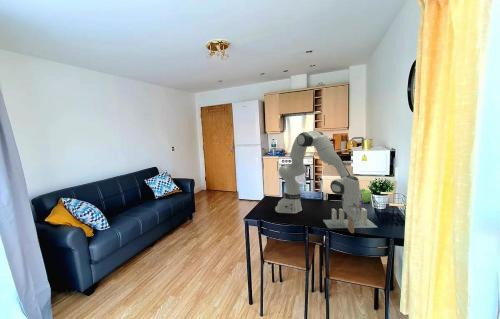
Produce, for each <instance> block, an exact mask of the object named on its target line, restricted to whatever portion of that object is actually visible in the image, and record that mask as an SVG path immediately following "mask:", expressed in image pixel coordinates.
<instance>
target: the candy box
mask: <svg viewBox="0 0 500 319" xmlns="http://www.w3.org/2000/svg"><path fill="white" fill-rule="evenodd" d="M362 189H363V188H360V191H359V206H358V208H359V209H360V210H361V208H363V201H362ZM342 197H344V195H343V194H342Z"/></svg>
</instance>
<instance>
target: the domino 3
mask: <svg viewBox="0 0 500 319" xmlns="http://www.w3.org/2000/svg"><path fill="white" fill-rule="evenodd" d="M351 221H352V218H351V217H350V216H349V215H348V228H347V230H348V232H349V233H350V234H354V233H355V228H354V225H352V224H351Z"/></svg>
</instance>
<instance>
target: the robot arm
mask: <svg viewBox="0 0 500 319" xmlns="http://www.w3.org/2000/svg"><path fill="white" fill-rule="evenodd" d="M309 147H310V148H311V147H314V148H315V150H316V153H317V155H318V158H319V159H320V161H321V162H323V163H324V164H327V165H331V166H333V167H335V170H336V171H337V173H338V175H339V177H340V178H337V179H334V180H332V181H331V182H330V191H331V192H332V193H333V194H335V195H342V197H341V201H342V209H343V210H344V213H345V214H346V217H347V218H346V219H347V220H348V215H349V216H350V217H351V218H352V221H351V224H352V225H355V222H358V221H360V220H361V209H359V208H358V206H359V191H360V189H361V188H360V180H359V178H358V177H356V176H355V175H351V174H350V172H349V170H348V168H347V166H346V164H345V162H344V161H343V160H342V158H341V157H340V156H339V155H338V154H337V151H336V150H335V148H334V145H333V144H332V141H331V140H330V138H329V137H328V136H327V135H326V134H324V132H322V131H319V130H317V131H315V130H314V131H313V130H311V131H303V132H300V133H298V134H297V136H296V137H295V139H294V141H293V144H292V146H291V150H290V152H289V153H290V154H289V157H290V159H291V160H292V162H291V163H290V164H289V163H287V164H284V165H281V166H280V167H279V168H278V174H279V176H280V177H281V178H282V179H283V180H284V183H285V189H286V192H282V193H283V198H281V199H280V200H279V201H277V202H278V203H277V206H275V208H274V210H275V212H276V213H279V214H298V213H299V212H301V211H303V208H302V202H301V196H302V195H301V194H302V193H301V188H300V187H301V186H300V183H299V182H298V181H297V180H296V177H300V176H302V175H304V174H306V171H307V166H306V165H305V164H304V159H305V155H306V152H307V148H309ZM343 195H344V197H343Z"/></svg>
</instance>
